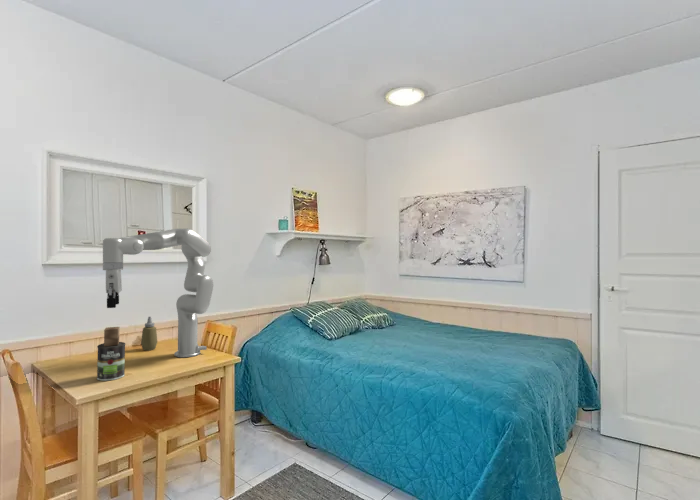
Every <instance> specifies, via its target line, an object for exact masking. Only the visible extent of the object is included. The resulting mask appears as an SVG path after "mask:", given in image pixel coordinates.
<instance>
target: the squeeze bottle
mask: <svg viewBox="0 0 700 500" xmlns="http://www.w3.org/2000/svg"><path fill="white" fill-rule="evenodd" d="M141 331H142V332H141V339H140V341H141V342H140V344H141V347H142V350H143V351H148V352H149V351H154V350H156V348H157V345H158V334H157V333H158V332H157V327H156V326H155V322H153V320H152V316H148V317H147V321H146V322H145V323H144V327H143V328H142V330H141Z"/></svg>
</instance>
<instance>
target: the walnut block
mask: <svg viewBox="0 0 700 500" xmlns="http://www.w3.org/2000/svg"><path fill="white" fill-rule="evenodd" d="M103 332H104V333H103V334H104V335H103V336H104V337H103V340H104V341H103V343H104V346H114V345H118V344H119V342H120V326H113V327H111V326H110V327H107V326H106V327H105V328H104V329H103Z"/></svg>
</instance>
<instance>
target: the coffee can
mask: <svg viewBox="0 0 700 500" xmlns="http://www.w3.org/2000/svg"><path fill="white" fill-rule="evenodd" d="M125 359H126V342H124V341H119V344H118V345H114V346H104V342H103V343H100V344H98V345H97V359H96V360H97V366H96V367H97V368H96V370H97V371H96V380H98V381H101V382H108V381H110V382H111V381H115V380H119V379H122V378H124V377H125V367H126V365H125V364H126V361H125Z"/></svg>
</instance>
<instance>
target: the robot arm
mask: <svg viewBox="0 0 700 500" xmlns="http://www.w3.org/2000/svg"><path fill="white" fill-rule="evenodd" d="M178 246H181V247H180V248H181V253H182V254H183V255H184V257H185V259H186V260H187V269H186V274H185V277H184V280H183V282H184V283H183V288H184V290H185V291H187V292H189V293H190V294H189V293H185V294H182V295H180V296H179V297H177V299H176V310H177V311H176V312H177V325H178V326H177V351H175V352H174V357H177V358H191V357H195V356H199V355H200V354H201V351H207V345H199V344H198V329H199V328H198V323H199V322H198V321H199V320H198V316H197V314H198V315H202V314H205V313H206V312H207V311H208V309H209V308H210V304H211V300H212V299H211V298H212V294H213V290H214V282H213V281H214V280H213V279H212V277H211V276H210V275H207V274H204V273H205V266H206V265H205V264H206V263H205V261H204V259H203V258H206V257H207V256H209V255H210V254H211V252H212V246H211V244H210V243H209V241H207V240H206V239H205V238H203V236H201V235H200V234H199V233H198V232H196V231H195V230H193V229H191V228H172V229H167V230H161V231H154V232H149V233H143V234H136V235H130V236H129V235H128V236H123V237H118V238H117V237H106V238H104V239H103V240H102V271H105V293H106V294H107V296H106V308H107V309H114V308H116V307H117V305H119V304H120V295H119V294H120V293H121V292H122V291H123V290H122V289H123V288H122V287H123V286H122V271H124V255H128V256H129V255H133V256H135V255H138V254H141V253H142V252H143V251H156V250H164V249H168V248H171V247H172V248H173V247H178ZM191 293H195V294H191Z"/></svg>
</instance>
